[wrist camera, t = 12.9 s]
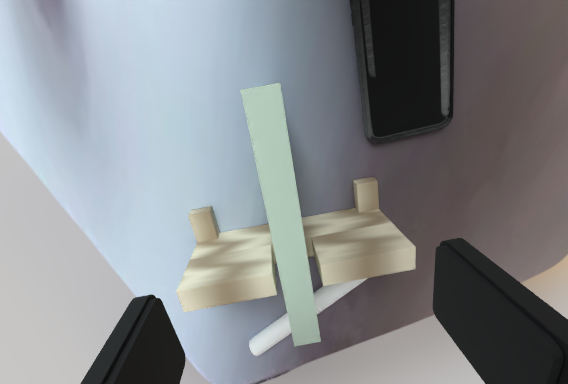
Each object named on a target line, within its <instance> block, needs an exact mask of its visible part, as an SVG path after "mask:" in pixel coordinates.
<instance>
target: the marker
mask: <svg viewBox="0 0 568 384" xmlns="http://www.w3.org/2000/svg"><path fill="white" fill-rule="evenodd" d="M366 279H367V278H365V279H360V280H354V281H349V282H343V283H338V284H333V285H327V286H322V287H321V288H319V289H318V290H317V291H315V292H314V293H313V294H314V301H315V307H316V313H317V314H319V313H320V312H321V311H323V310H324V309H326V308H327V307H328V306H330V305H332V304H333V303H334V302H335V301H337V300H338V299H340V298H341V297H342V296H344V295H345V294H347V293H348V292H349V291H351V290H352V289H354V288H355V287H356V286H358V285H359V284H361V283H362V282H363V281H365V280H366ZM290 333H291V328H290V323H289V318H288V314H287V313H285V314H284V315H283V316H281V317H280V318H279V319H277V320H276V321H274V322H273V323H272V324H270V325H269V326H268V327H266V328H265V329H264V330H262V331H261V332H259V333H258V334H257V335H255V336H254V337H253V338H252V339H251V340H250V341H249V343H250V345H249V348H250V350H251V352H252V353H253V354H254V355H255V356H259V355H261V354H263V353H264V352H265V351H267V350H268V349H269V348H271V347H272V346H274V345H275V344H276V343H278V342H279V341H281V340H282V339H284V338H285V337H286V336H288V335H289V334H290Z"/></svg>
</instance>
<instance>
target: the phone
mask: <svg viewBox="0 0 568 384" xmlns="http://www.w3.org/2000/svg"><path fill="white" fill-rule="evenodd" d="M350 2H351V9H352V23H353V26H354V35H355V45H356V54H357V64H358V73H359V83H360V92H361V102H362V111H363V120H364V130H365V135H366V137H367V138H368V139H369V140H371V141H373V142H376V143H383V142H387V141H391V140H396V139H400V138H404V137H408V136H413V135H417V134H421V133H426V132H430V131H434V130H439V129H442V128H444V127H446V126H447V125H448V124H449V123H450V122H451V119H452V117H453V80H454V0H350Z"/></svg>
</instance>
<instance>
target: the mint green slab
mask: <svg viewBox="0 0 568 384" xmlns="http://www.w3.org/2000/svg"><path fill="white" fill-rule="evenodd" d="M241 95H242V99H243V104H244V109H245V114H246V118H247V123H248V128H249V133H250V137H251V142H252V147H253V152H254V156H255V161H256V166H257V171H258V176H259V180H260V185H261V190H262V195H263V199H264V204H265V209H266V214H267V218H268V223H269V228H270V233H271V237H272V242H273V247H274V252H275V256H276V261H277V266H278V271H279V276H280V280H281V285H282V290H283V295H284V299H285V304H286V309H287V314H288V318H289V323H290V328H291V333H292V337H293V342H294V346H300V345H305V344H311V343H316V342H321V339H320V332H319V326H318V320H317V313H316V307H315V301H314V294H313V288H312V282H311V275H310V269H309V263H308V256H307V250H306V244H305V237H304V231H303V225H302V218H301V212H300V206H299V199H298V193H297V187H296V180H295V174H294V168H293V161H292V155H291V149H290V143H289V136H288V130H287V124H286V117H285V111H284V105H283V98H282V92H281V86H280V83H276V84H270V85H264V86H259V87H253V88H247V89H242V90H241Z"/></svg>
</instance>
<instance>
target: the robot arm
mask: <svg viewBox="0 0 568 384" xmlns="http://www.w3.org/2000/svg"><path fill="white" fill-rule="evenodd" d="M433 311H434V314H435V316H436V318H437V319H438V320H439V322H440V323H441V324H442V326H443V327H444V329H445V330H446V331H447V333H448V334H449V335H450V337H451V338H452V339H453V341H454V342H455V343H456V345H457V346H458V347H459V349H460V350H461V351H462V353H463V354H464V355H465V357H466V358H467V360H468V361H469V362H470V363H471V365H472V366H473V368H474V369H475V370H476V372H477V373H478V374H479V376H480V377H481V378H482V380H483V381H484V382H485V384H568V319H566V318H565V317H563V316H562V315H561V314H560V313H558V312H557V311H556V310H554V309H553V308H552V307H551V306H549V305H548V304H547V303H545V302H544V301H543V300H542V299H540V298H539V297H538V296H536V295H535V294H534V293H533V292H531V291H530V290H529V289H527V288H526V287H525V286H523V285H522V284H521V283H520V282H518V281H517V280H516V279H514V278H513V277H512V276H510V275H509V274H508V273H507V272H505V271H504V270H503V269H501V268H500V267H499V266H498V265H496V264H495V263H494V262H492V261H491V260H490V259H488V258H487V257H486V256H485V255H483V254H482V253H481V252H479V251H478V250H477V249H475V248H474V247H473V246H472V245H470V244H469V243H468V242H466V241H465V240H464V239H462V238H457V239H451V240H446V241H442V242H441V243H440V246H438V247H437V248H436V257H435V275H434V293H433ZM184 366H185V353H184V350H183V348H182V346H181V344H180V341H179V339H178V337H177V335H176V332H175V330H174V328H173V326H172V323H171V321H170V319H169V316H168V314H167V312H166V310H165V307H164V305H163V303H162V301H161V299H160V298H156V297H155V296H154V295H147V296H142V297H136V298H134V299H133V300H132V301H131V302H130V304H129V306H128V307H127V309H126V311H125V312H124V314H123V316H122V317H121V319H120V320H119V322H118V323H117V325H116V327H115V328H114V330H113V332H112V333H111V335H110V337H109V338H108V340H107V341H106V343H105V345H104V346H103V348H102V350H101V351H100V353H99V354H98V356H97V358H96V359H95V361H94V363H93V364H92V366H91V368H90V369H89V371H88V372H87V374H86V376H85V377H84V379H83V381H82V382H81V384H180V380H181V376H182V373H183V369H184Z"/></svg>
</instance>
